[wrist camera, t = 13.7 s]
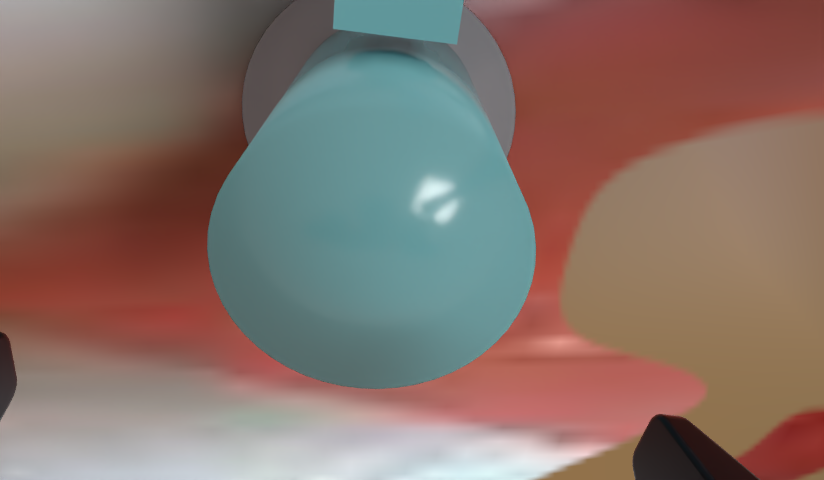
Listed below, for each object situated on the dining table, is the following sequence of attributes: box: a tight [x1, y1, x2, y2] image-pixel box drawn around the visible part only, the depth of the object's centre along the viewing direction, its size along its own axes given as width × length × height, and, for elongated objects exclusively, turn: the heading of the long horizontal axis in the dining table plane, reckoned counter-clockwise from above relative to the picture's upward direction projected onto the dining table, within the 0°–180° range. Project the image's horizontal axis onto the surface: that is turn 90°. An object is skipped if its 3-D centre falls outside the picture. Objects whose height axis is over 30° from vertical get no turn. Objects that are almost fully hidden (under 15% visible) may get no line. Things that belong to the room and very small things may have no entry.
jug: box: [207, 0, 536, 389], centre depth 13 cm, size 12×6×10 cm, turn 173°
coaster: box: [242, 0, 516, 159], centre depth 19 cm, size 9×9×1 cm
